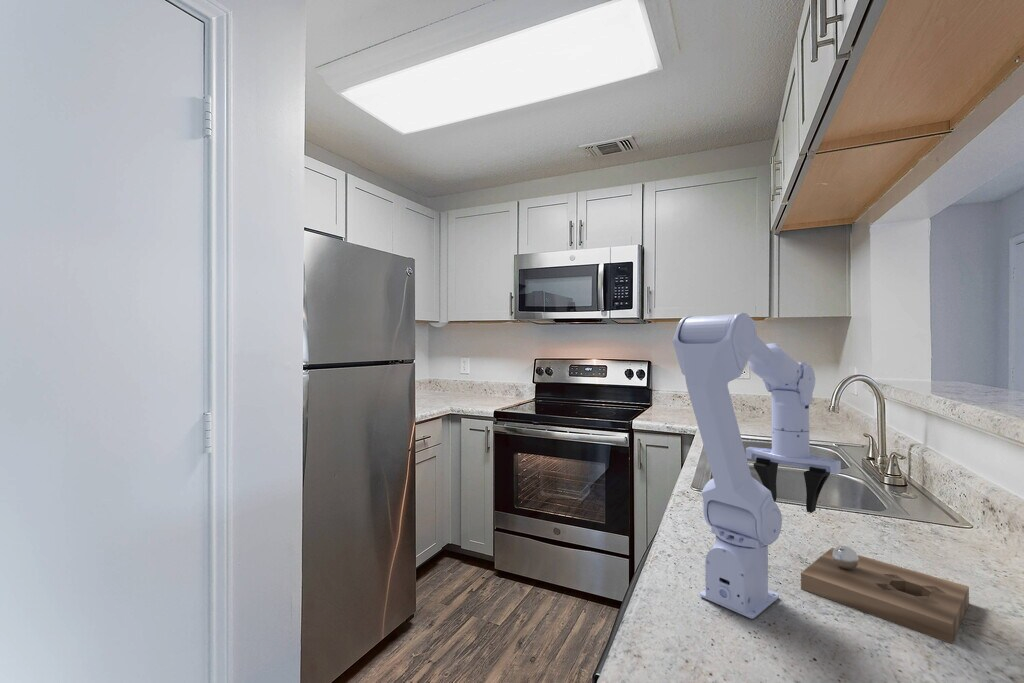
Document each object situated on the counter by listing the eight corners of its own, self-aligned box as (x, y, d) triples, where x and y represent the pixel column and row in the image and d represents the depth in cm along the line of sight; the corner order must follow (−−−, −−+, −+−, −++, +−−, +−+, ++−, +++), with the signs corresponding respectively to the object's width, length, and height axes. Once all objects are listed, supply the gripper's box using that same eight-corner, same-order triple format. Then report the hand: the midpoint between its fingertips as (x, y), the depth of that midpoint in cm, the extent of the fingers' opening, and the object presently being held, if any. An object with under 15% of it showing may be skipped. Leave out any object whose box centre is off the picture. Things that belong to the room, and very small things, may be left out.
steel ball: (855, 575, 72) (855, 553, 72) (829, 567, 75) (829, 545, 75) (861, 568, 74) (861, 547, 74) (836, 561, 77) (836, 540, 77)
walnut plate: (952, 643, 59) (952, 624, 59) (800, 588, 73) (800, 573, 73) (969, 603, 69) (968, 586, 69) (832, 561, 82) (832, 547, 82)
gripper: (846, 432, 78) (847, 512, 78) (757, 421, 89) (757, 491, 89) (832, 437, 73) (833, 522, 73) (740, 425, 85) (741, 499, 84)
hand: (790, 506), depth 81 cm, fingers open, 6 cm apart
